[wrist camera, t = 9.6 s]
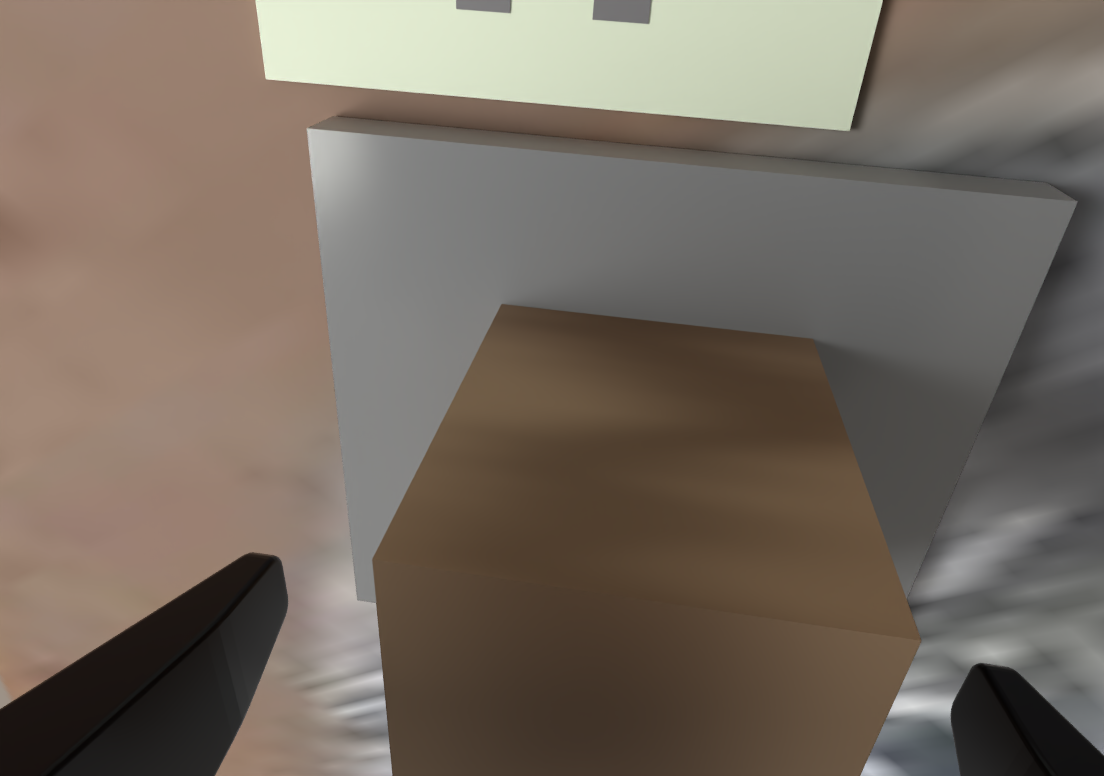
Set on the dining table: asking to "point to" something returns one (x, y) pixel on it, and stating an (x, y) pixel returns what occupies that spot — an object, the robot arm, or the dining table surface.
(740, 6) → the pale cream tile
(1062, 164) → the dining table surface
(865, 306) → the slate board
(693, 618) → the block
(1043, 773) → the robot arm
